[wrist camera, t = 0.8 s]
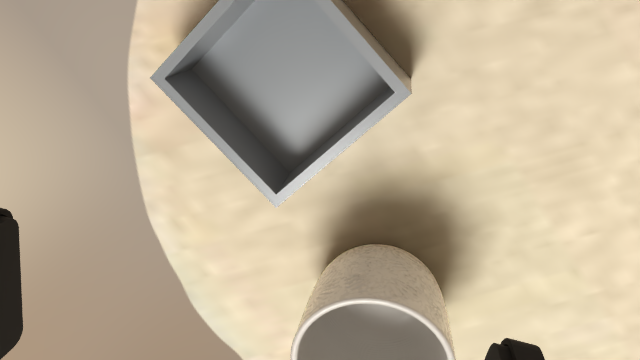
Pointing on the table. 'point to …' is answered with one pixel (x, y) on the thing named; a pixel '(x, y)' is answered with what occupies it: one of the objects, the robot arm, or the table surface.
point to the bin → (282, 86)
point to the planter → (374, 310)
